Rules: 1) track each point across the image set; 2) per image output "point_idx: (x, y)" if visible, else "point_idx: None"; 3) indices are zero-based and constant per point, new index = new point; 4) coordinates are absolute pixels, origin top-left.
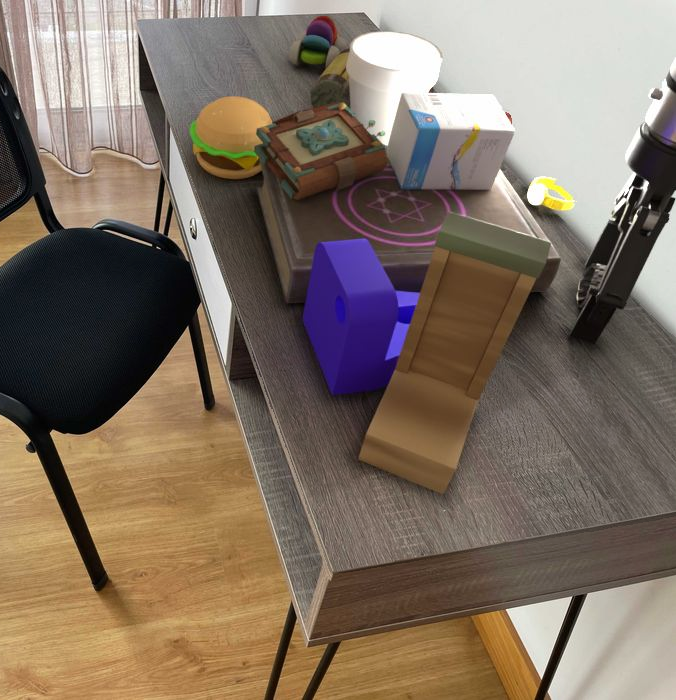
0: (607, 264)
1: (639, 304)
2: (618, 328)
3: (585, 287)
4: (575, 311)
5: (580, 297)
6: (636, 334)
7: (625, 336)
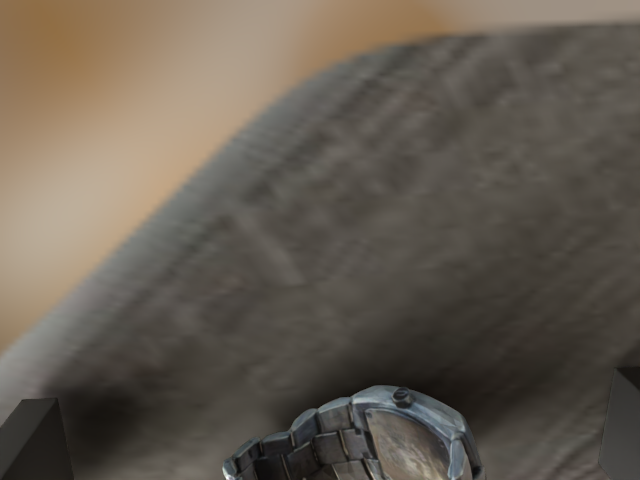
0: (37, 457)
1: (209, 217)
2: (465, 285)
3: (264, 476)
4: None
5: (346, 475)
6: (473, 202)
7: (512, 249)
